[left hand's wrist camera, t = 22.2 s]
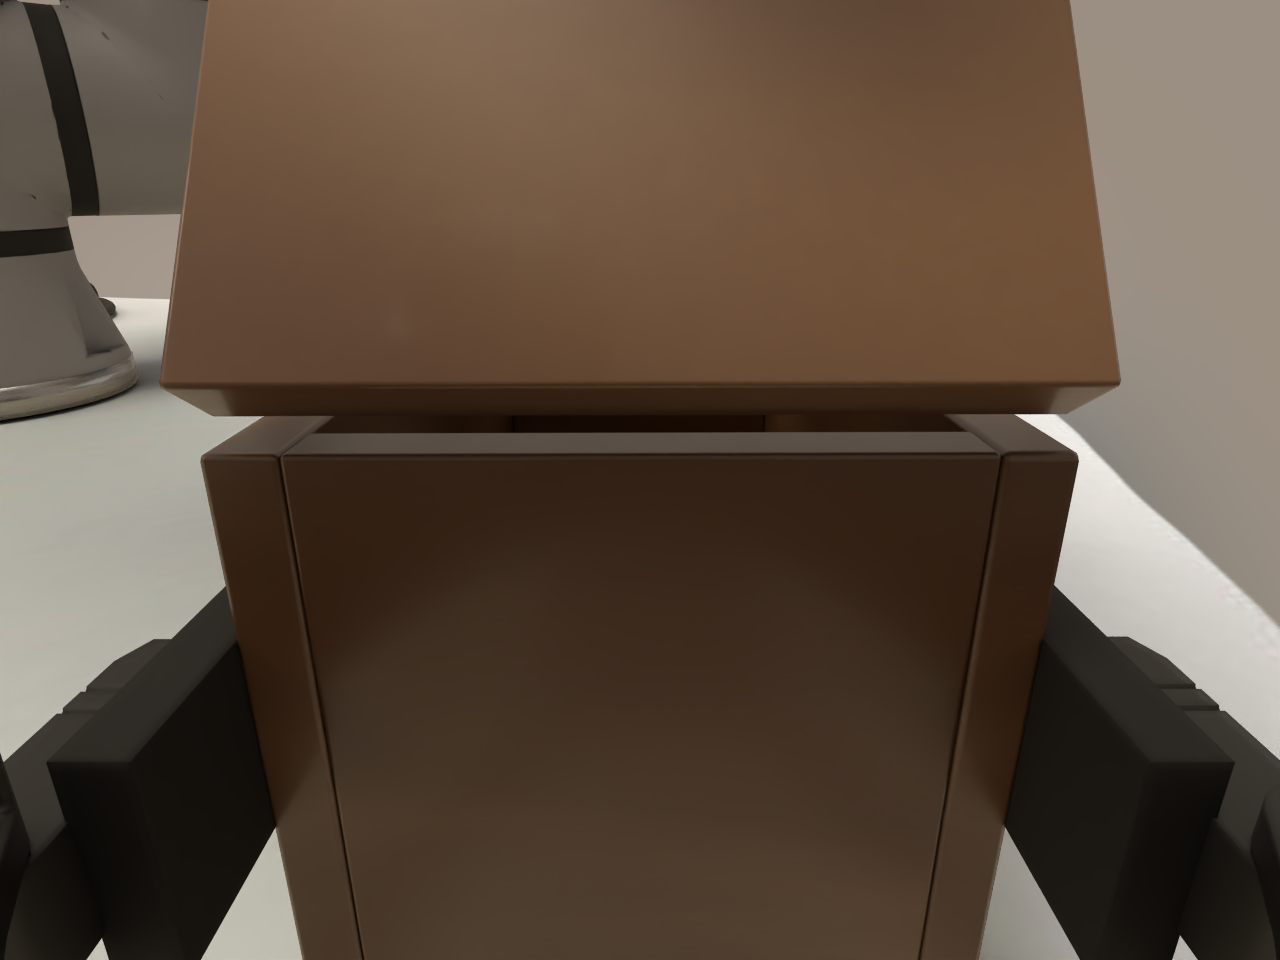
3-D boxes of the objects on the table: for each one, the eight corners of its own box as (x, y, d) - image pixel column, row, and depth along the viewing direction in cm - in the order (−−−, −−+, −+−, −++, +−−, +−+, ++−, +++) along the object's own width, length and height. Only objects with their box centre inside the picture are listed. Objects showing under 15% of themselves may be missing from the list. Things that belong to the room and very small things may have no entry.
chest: (501, 585, 27) (479, 279, 23) (776, 584, 27) (796, 278, 23) (329, 1099, 12) (196, 455, 8) (953, 1094, 12) (1085, 453, 8)
